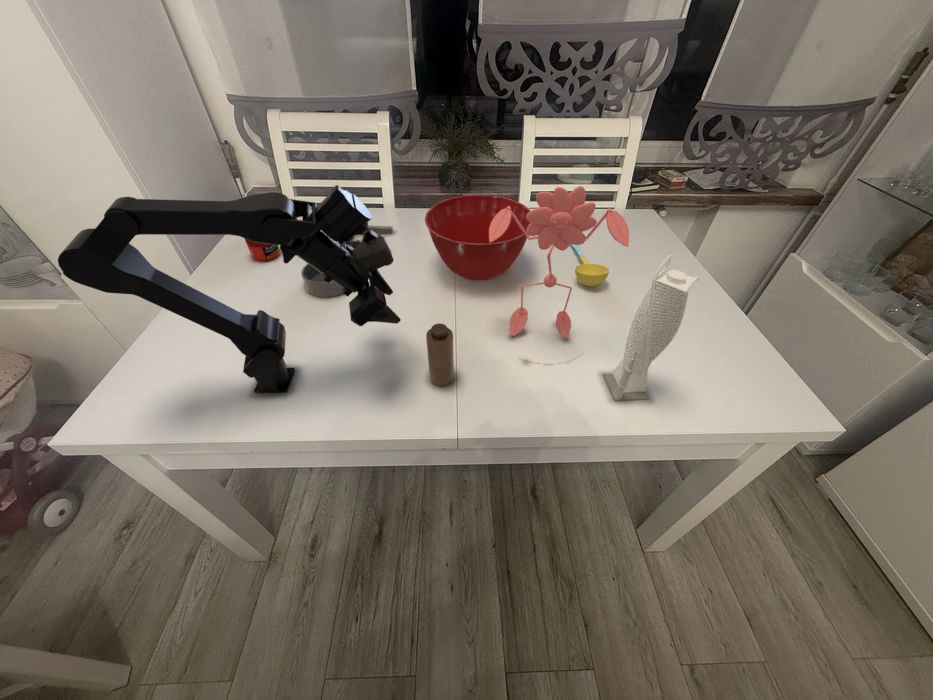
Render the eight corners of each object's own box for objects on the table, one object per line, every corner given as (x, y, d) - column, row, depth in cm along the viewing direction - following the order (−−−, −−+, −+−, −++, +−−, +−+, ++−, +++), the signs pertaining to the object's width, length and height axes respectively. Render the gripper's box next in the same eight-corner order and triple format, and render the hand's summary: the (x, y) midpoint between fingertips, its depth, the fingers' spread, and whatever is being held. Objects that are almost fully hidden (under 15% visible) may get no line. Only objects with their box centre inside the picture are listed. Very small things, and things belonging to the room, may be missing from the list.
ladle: (577, 291, 102) (580, 270, 99) (556, 259, 124) (557, 241, 121) (611, 290, 102) (615, 269, 99) (584, 258, 124) (586, 240, 121)
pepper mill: (454, 386, 79) (453, 337, 70) (429, 387, 79) (425, 338, 70) (453, 368, 83) (452, 319, 73) (430, 369, 83) (426, 320, 73)
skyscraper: (600, 370, 83) (643, 252, 63) (637, 368, 83) (691, 251, 64) (614, 401, 77) (666, 282, 57) (653, 399, 77) (718, 280, 58)
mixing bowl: (414, 288, 104) (409, 234, 93) (444, 237, 124) (442, 188, 113) (519, 304, 99) (526, 250, 88) (532, 249, 119) (539, 199, 108)
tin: (351, 297, 101) (348, 282, 97) (300, 298, 100) (295, 283, 97) (359, 269, 110) (356, 255, 107) (312, 270, 109) (308, 256, 106)
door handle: (394, 216, 129) (344, 213, 128) (387, 246, 115) (332, 244, 113) (394, 225, 131) (346, 223, 130) (388, 256, 117) (334, 254, 116)
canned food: (272, 263, 112) (258, 227, 104) (246, 260, 113) (231, 224, 105) (286, 250, 117) (273, 215, 110) (262, 247, 118) (248, 212, 111)
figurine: (485, 316, 95) (493, 167, 71) (592, 325, 93) (638, 175, 69) (479, 361, 84) (486, 203, 60) (600, 372, 82) (658, 213, 58)
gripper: (369, 254, 57) (437, 310, 67) (357, 202, 69) (416, 255, 80) (318, 301, 59) (391, 348, 70) (316, 243, 72) (377, 289, 83)
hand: (395, 306), depth 76 cm, fingers open, 9 cm apart
